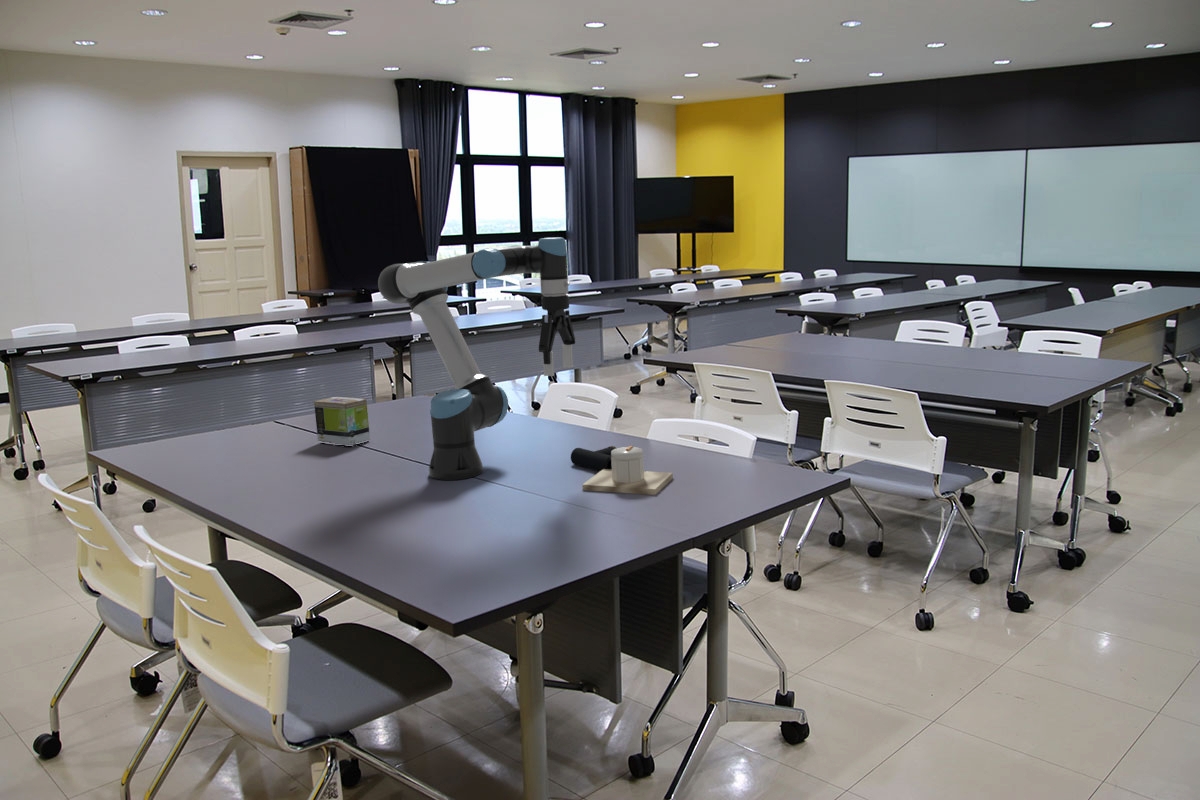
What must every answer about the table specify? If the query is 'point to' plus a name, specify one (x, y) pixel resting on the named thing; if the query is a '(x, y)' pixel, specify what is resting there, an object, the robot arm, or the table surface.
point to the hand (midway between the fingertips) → (558, 371)
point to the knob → (627, 464)
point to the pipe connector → (593, 458)
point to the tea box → (342, 420)
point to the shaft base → (646, 486)
